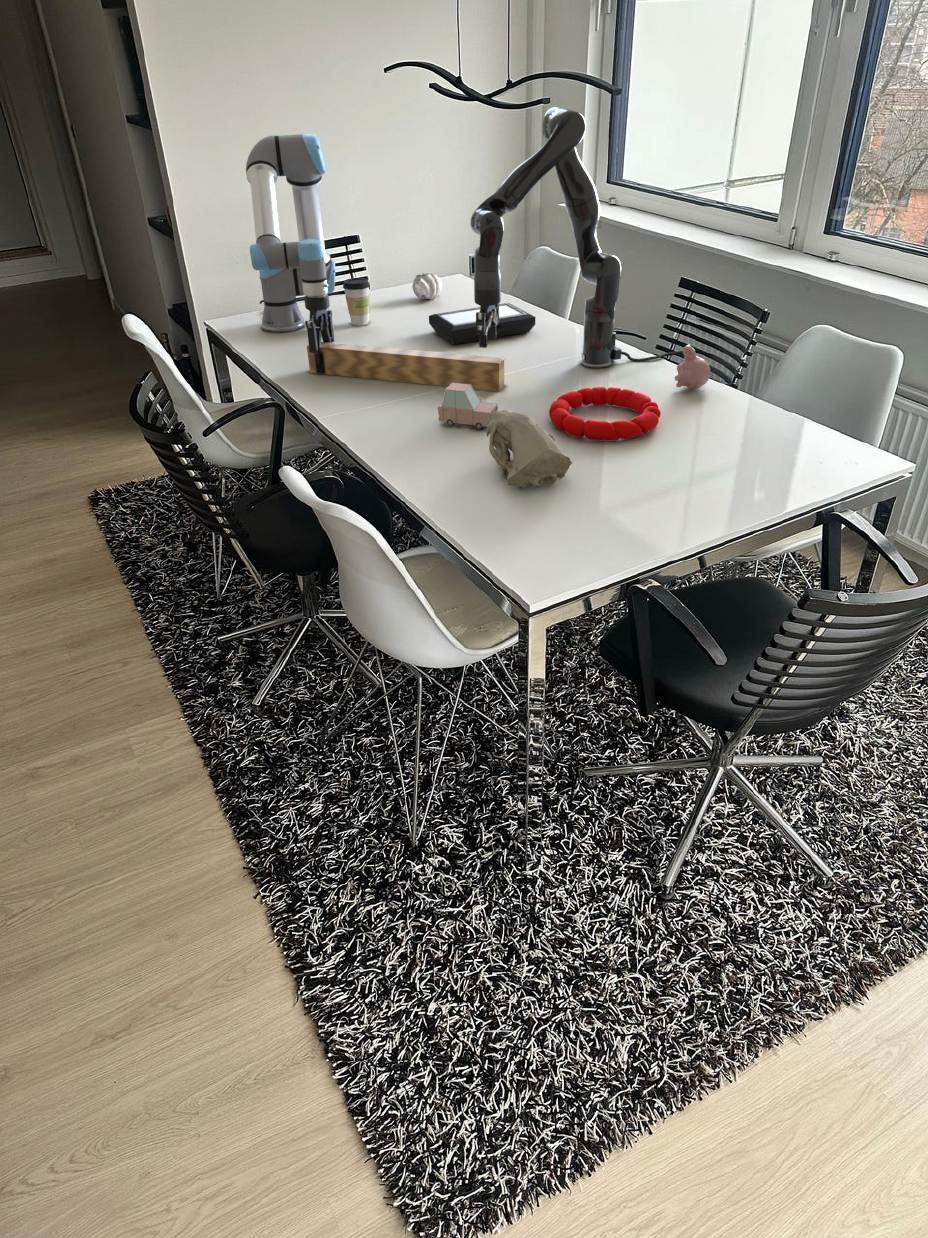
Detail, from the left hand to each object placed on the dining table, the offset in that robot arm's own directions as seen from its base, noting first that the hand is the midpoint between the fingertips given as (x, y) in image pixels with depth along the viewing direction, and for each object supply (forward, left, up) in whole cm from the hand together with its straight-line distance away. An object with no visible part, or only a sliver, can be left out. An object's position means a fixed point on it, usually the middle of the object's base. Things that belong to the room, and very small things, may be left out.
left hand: (325, 369), depth 285 cm
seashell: (-75, +44, -1) cm, 87 cm away
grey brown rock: (+87, +44, -1) cm, 97 cm away
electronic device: (-27, +56, -1) cm, 62 cm away
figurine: (+44, +105, -1) cm, 114 cm away
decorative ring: (+62, +73, -1) cm, 96 cm away
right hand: (+28, +48, +13) cm, 57 cm away
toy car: (+54, +37, -1) cm, 65 cm away
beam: (+14, +24, -1) cm, 28 cm away
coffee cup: (-49, +15, -1) cm, 52 cm away
